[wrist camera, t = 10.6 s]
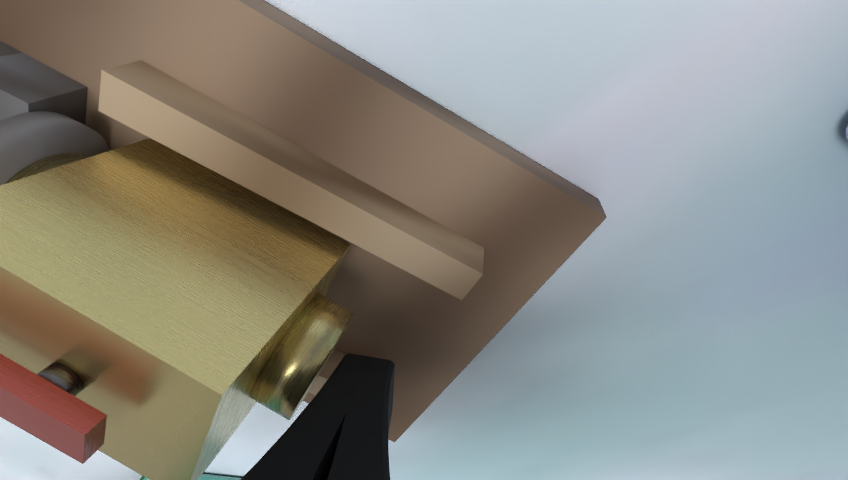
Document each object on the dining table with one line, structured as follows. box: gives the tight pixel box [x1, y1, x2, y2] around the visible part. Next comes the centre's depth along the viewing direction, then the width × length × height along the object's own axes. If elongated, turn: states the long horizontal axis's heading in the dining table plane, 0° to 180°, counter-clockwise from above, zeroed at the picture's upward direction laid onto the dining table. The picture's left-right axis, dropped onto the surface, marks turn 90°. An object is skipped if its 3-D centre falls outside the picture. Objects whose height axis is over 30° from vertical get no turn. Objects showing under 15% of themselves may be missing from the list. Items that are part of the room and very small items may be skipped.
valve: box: [0, 138, 354, 480], centre depth 9 cm, size 8×4×6 cm, turn 62°
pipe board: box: [0, 0, 606, 442], centre depth 11 cm, size 16×12×5 cm
